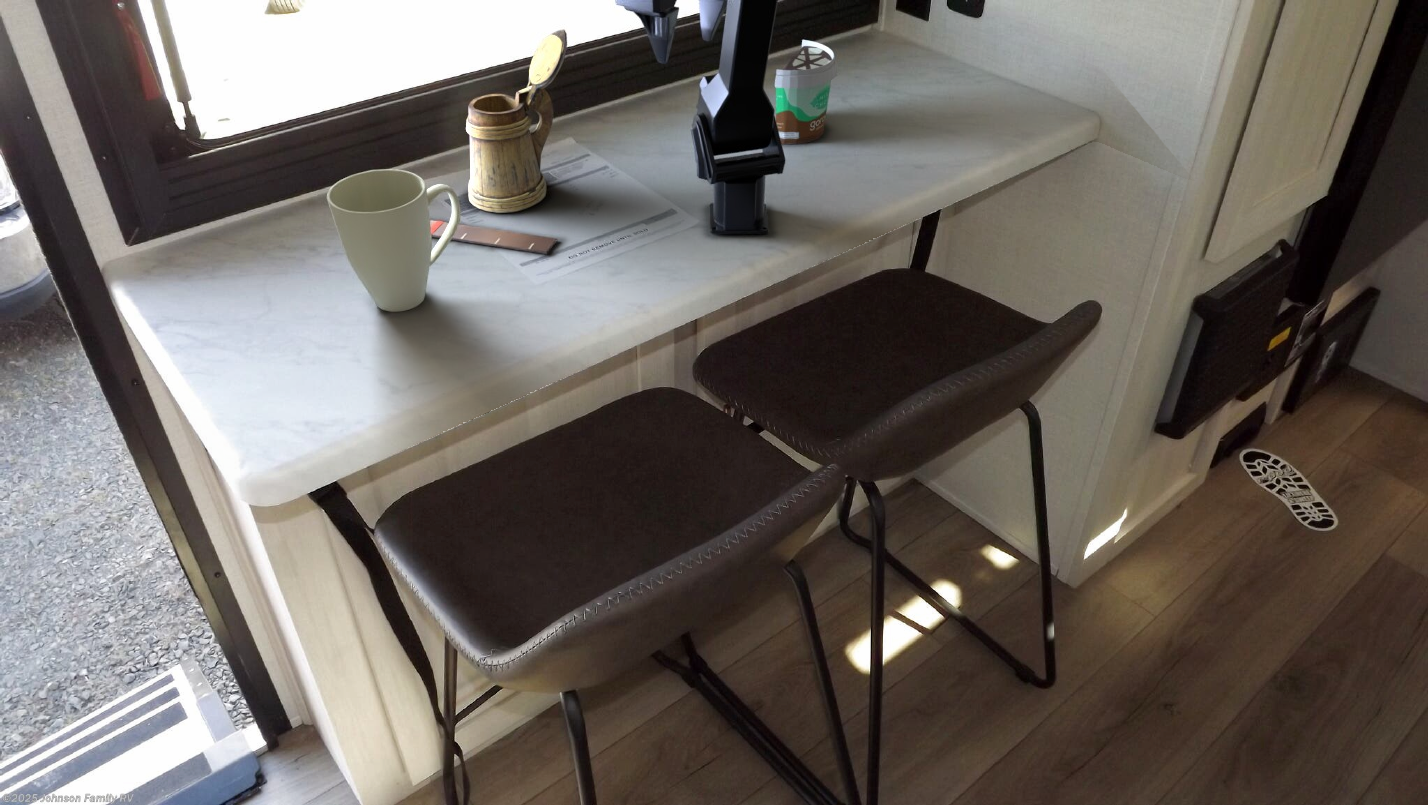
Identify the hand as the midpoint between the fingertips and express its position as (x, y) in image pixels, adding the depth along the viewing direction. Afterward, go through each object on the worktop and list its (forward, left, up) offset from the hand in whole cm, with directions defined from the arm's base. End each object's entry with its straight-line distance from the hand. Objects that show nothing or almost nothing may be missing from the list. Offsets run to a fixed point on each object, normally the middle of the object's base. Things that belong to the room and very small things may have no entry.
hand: (685, 51), depth 123 cm
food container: (+6, -16, -13) cm, 21 cm away
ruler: (-21, +24, -13) cm, 35 cm away
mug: (-33, +28, -13) cm, 45 cm away
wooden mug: (-11, +19, -13) cm, 25 cm away
